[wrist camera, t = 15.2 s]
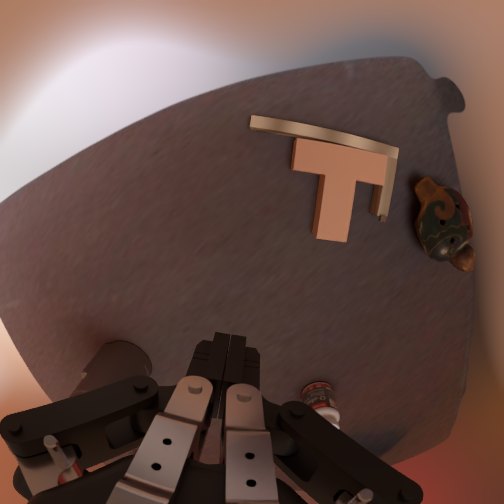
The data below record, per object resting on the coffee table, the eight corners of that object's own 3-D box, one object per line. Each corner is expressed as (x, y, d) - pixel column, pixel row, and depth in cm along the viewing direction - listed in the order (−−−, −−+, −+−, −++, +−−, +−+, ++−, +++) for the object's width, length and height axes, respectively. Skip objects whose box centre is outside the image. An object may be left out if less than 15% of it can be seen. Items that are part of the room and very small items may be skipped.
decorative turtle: (432, 276, 40) (455, 294, 33) (384, 202, 39) (405, 207, 31) (470, 239, 38) (498, 250, 30) (427, 163, 36) (453, 161, 29)
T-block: (283, 229, 39) (285, 234, 36) (293, 141, 36) (297, 137, 33) (365, 240, 39) (374, 246, 36) (377, 156, 36) (387, 155, 33)
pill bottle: (318, 375, 46) (328, 416, 36) (338, 390, 46) (350, 429, 37) (294, 394, 47) (299, 435, 37) (314, 407, 48) (322, 446, 38)
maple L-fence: (240, 193, 38) (238, 195, 35) (252, 119, 36) (251, 114, 32) (377, 218, 38) (387, 222, 35) (389, 149, 36) (400, 148, 32)
